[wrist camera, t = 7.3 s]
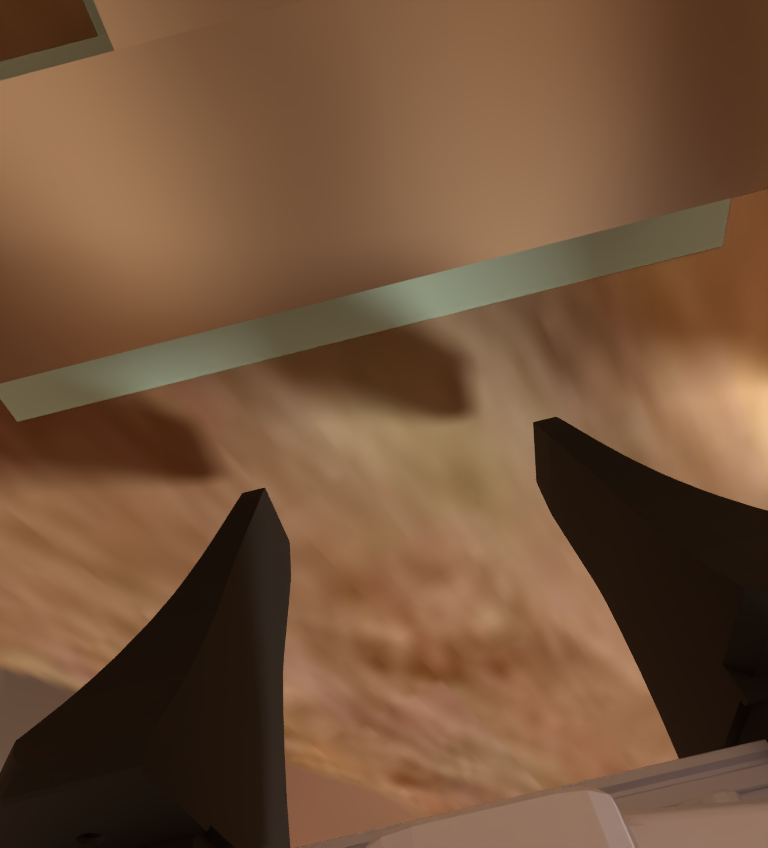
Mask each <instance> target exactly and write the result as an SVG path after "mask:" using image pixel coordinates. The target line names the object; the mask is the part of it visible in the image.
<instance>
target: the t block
mask: <svg viewBox="0 0 768 848" xmlns="http://www.w3.org/2000/svg"><path fill="white" fill-rule="evenodd" d="M94 3H95V5H96V8H97V10H98V12H99V15H100V17H101V20H102V22H103V25H104V27H105V29H106V32H107V34H108V37H109V39H110V41H111V44H112V46H113V49H114V51H111V52H107V53H103V54H100V55H96V56H92V57H88V58H84V59H81V60H77V61H73V62H69V63H65V64H62V65H58V66H54V67H50V68H46V69H43V70H39V71H35V72H31V73H27V74H24V75H20V76H16V77H12V78H8V79H5V80H1V81H0V384H1V383H5V382H9V381H13V380H16V379H20V378H24V377H28V376H32V375H36V374H40V373H44V372H48V371H52V370H56V369H60V368H64V367H68V366H72V365H76V364H80V363H83V362H87V361H91V360H95V359H99V358H103V357H107V356H111V355H115V354H119V353H123V352H127V351H131V350H135V349H139V348H143V347H146V346H150V345H154V344H158V343H162V342H166V341H170V340H174V339H178V338H182V337H186V336H190V335H194V334H198V333H202V332H206V331H209V330H213V329H217V328H221V327H225V326H229V325H233V324H237V323H241V322H245V321H249V320H253V319H257V318H261V317H265V316H269V315H272V314H276V313H280V312H284V311H288V310H292V309H296V308H300V307H304V306H308V305H312V304H316V303H320V302H324V301H328V300H332V299H336V298H339V297H343V296H347V295H351V294H355V293H359V292H363V291H367V290H371V289H375V288H379V287H383V286H387V285H391V284H395V283H399V282H402V281H406V280H410V279H414V278H418V277H422V276H426V275H430V274H434V273H438V272H442V271H446V270H450V269H454V268H458V267H462V266H465V265H469V264H473V263H477V262H481V261H485V260H489V259H493V258H497V257H501V256H505V255H509V254H513V253H517V252H521V251H525V250H529V249H532V248H536V247H540V246H544V245H548V244H552V243H556V242H560V241H564V240H568V239H572V238H576V237H580V236H584V235H588V234H592V233H595V232H599V231H603V230H607V229H611V228H615V227H619V226H623V225H627V224H631V223H635V222H639V221H643V220H647V219H651V218H655V217H658V216H662V215H666V214H670V213H674V212H678V211H682V210H686V209H690V208H694V207H698V206H702V205H706V204H710V203H714V202H718V201H721V200H725V199H729V198H733V197H737V196H741V195H745V194H749V193H753V192H757V191H761V190H765V189H768V0H94Z"/></svg>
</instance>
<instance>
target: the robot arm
mask: <svg viewBox="0 0 768 848" xmlns="http://www.w3.org/2000/svg"><path fill="white" fill-rule="evenodd" d="M533 426H534V444H535V463H536V481H537V484H538V486H539V488H540V491H541V493H542V495H543V497H544V499H545V502H546V504H547V506H548V508H549V510H550V512H551V514H552V516H553V517H554V519H555V520H556V522H557V524H558V525H559V527H560V528H561V530H562V532H563V533H564V535H565V536H566V538H567V539H568V541H569V543H570V544H571V546H572V547H573V549H574V550H575V552H576V553H577V555H578V557H579V558H580V560H581V561H582V563H583V564H584V566H585V568H586V569H587V571H588V572H589V574H590V575H591V577H592V578H593V580H594V582H595V583H596V585H597V587H598V588H599V590H600V592H601V593H602V595H603V597H604V599H605V601H606V603H607V605H608V607H609V609H610V611H611V613H612V615H613V617H614V619H615V620H616V622H617V624H618V626H619V628H620V630H621V632H622V634H623V637H624V639H625V641H626V643H627V645H628V647H629V649H630V651H631V653H632V655H633V657H634V659H635V661H636V664H637V666H638V668H639V670H640V672H641V674H642V676H643V679H644V681H645V683H646V685H647V687H648V689H649V692H650V694H651V696H652V698H653V700H654V703H655V705H656V707H657V709H658V711H659V714H660V716H661V718H662V720H663V723H664V725H665V727H666V730H667V732H668V734H669V737H670V739H671V741H672V744H673V746H674V748H675V751H676V753H677V755H678V758H679V759H677V760H673V761H669V762H664V763H660V764H656V765H651V766H647V767H643V768H638V769H634V770H630V771H625V772H621V773H617V774H612V775H608V776H604V777H599V778H595V779H591V780H586V781H582V782H578V783H574V784H569V785H565V786H561V787H556V788H552V789H548V790H543V791H539V792H535V793H530V794H526V795H522V796H517V797H513V798H509V799H504V800H500V801H496V802H491V803H487V804H483V805H478V806H474V807H470V808H465V809H461V810H457V811H452V812H448V813H444V814H439V815H435V816H431V817H426V818H422V819H418V820H413V821H409V822H405V823H400V824H396V825H392V826H388V827H383V828H379V829H375V830H370V831H366V832H362V833H357V834H353V835H349V836H344V837H340V838H336V839H332V840H327V841H323V842H319V843H314V844H310V845H306V846H301V847H297V848H768V511H767V510H763V509H760V508H756V507H752V506H749V505H746V504H743V503H740V502H736V501H733V500H730V499H727V498H724V497H721V496H718V495H715V494H712V493H709V492H706V491H704V490H701V489H698V488H696V487H693V486H691V485H688V484H686V483H683V482H680V481H678V480H675V479H673V478H671V477H668V476H666V475H664V474H661V473H659V472H657V471H655V470H653V469H651V468H649V467H647V466H645V465H642V464H640V463H638V462H636V461H634V460H632V459H630V458H628V457H626V456H624V455H623V454H621V453H619V452H617V451H615V450H613V449H611V448H610V447H608V446H606V445H604V444H602V443H601V442H599V441H597V440H595V439H594V438H592V437H590V436H589V435H587V434H585V433H583V432H582V431H580V430H578V429H577V428H575V427H573V426H572V425H570V424H568V423H567V422H565V421H563V420H561V419H560V418H558V417H553V418H549V419H545V420H541V421H537V422H533ZM290 582H291V563H290V543H289V540H288V537H287V535H286V533H285V531H284V529H283V526H282V524H281V522H280V520H279V518H278V515H277V513H276V511H275V509H274V507H273V504H272V502H271V500H270V498H269V496H268V493H267V491H266V489H265V488H261V489H257V490H253V491H249V492H245V493H242V495H241V496H240V498H239V499H238V501H237V502H236V504H235V505H234V507H233V509H232V510H231V512H230V513H229V515H228V517H227V518H226V520H225V521H224V523H223V524H222V526H221V528H220V529H219V531H218V532H217V534H216V535H215V537H214V539H213V540H212V542H211V543H210V545H209V546H208V548H207V549H206V551H205V552H204V554H203V555H202V557H201V558H200V559H199V561H198V562H197V563H196V565H195V566H194V568H193V569H192V570H191V572H190V573H189V574H188V576H187V577H186V579H185V580H184V581H183V583H182V584H181V585H180V587H179V588H178V589H177V590H176V592H175V593H174V594H173V595H172V597H171V598H170V599H169V600H168V601H167V603H166V604H165V605H164V606H163V607H162V608H161V610H160V611H159V612H158V613H157V614H156V615H155V617H154V618H153V619H152V620H151V621H150V622H149V623H148V624H147V625H146V626H145V627H144V628H143V629H142V631H141V632H140V633H139V634H138V635H137V636H136V637H135V638H134V639H133V640H132V641H131V642H130V643H129V644H128V645H127V646H126V647H125V648H124V649H123V650H122V651H121V652H120V653H119V654H118V655H117V656H116V657H115V658H114V659H113V660H112V661H111V662H110V663H109V664H108V665H106V666H105V667H104V668H103V669H102V670H101V671H100V672H99V673H98V674H97V675H96V676H95V677H93V678H92V679H91V680H90V681H89V682H88V683H87V684H85V685H84V686H83V687H82V688H81V689H80V690H79V691H78V692H76V693H75V694H74V695H73V696H72V697H70V698H69V699H68V700H67V701H66V702H65V703H63V704H62V705H61V706H60V707H58V708H57V709H56V710H54V711H53V712H52V713H51V714H49V715H48V716H47V717H46V718H44V719H43V720H42V721H41V722H40V723H38V724H37V725H36V726H34V727H33V728H32V729H31V730H29V731H28V732H27V733H26V734H24V735H23V736H22V737H21V738H19V739H18V740H16V742H15V743H14V745H13V747H12V749H11V751H10V754H9V756H8V758H7V760H6V762H5V764H4V766H3V768H2V770H1V772H0V848H290V839H289V826H288V825H289V824H288V811H287V794H286V774H285V754H284V721H283V661H284V648H285V637H286V627H287V616H288V605H289V594H290Z"/></svg>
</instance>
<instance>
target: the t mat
mask: <svg viewBox="0 0 768 848" xmlns="http://www.w3.org/2000/svg"><path fill="white" fill-rule="evenodd" d="M83 2H84V4H85V6H86V9H87V11H88V14H89V16H90V18H91V21H92V23H93V25H94V28H95V30H96V33H97V35H98V36H97V37H93V38H89V39H85V40H81V41H78V42H74V43H70V44H66V45H62V46H58V47H54V48H51V49H47V50H43V51H39V52H35V53H31V54H27V55H24V56H20V57H16V58H12V59H8V60H4V61H0V81H1V80H5V79H8V78H12V77H16V76H20V75H24V74H27V73H31V72H35V71H39V70H43V69H46V68H50V67H54V66H58V65H62V64H65V63H69V62H73V61H77V60H81V59H84V58H88V57H92V56H96V55H100V54H103V53H107V52H111V51H114V49H113V46H112V44H111V41H110V39H109V37H108V34H107V32H106V29H105V27H104V25H103V22H102V20H101V17H100V15H99V12H98V10H97V8H96V5H95V3H94V0H83ZM730 201H731V198H729V199H725V200H721V201H718V202H714V203H710V204H706V205H702V206H698V207H694V208H690V209H686V210H682V211H678V212H674V213H670V214H666V215H662V216H658V217H655V218H651V219H647V220H643V221H639V222H635V223H631V224H627V225H623V226H619V227H615V228H611V229H607V230H603V231H599V232H595V233H592V234H588V235H584V236H580V237H576V238H572V239H568V240H564V241H560V242H556V243H552V244H548V245H544V246H540V247H536V248H532V249H529V250H525V251H521V252H517V253H513V254H509V255H505V256H501V257H497V258H493V259H489V260H485V261H481V262H477V263H473V264H469V265H465V266H462V267H458V268H454V269H450V270H446V271H442V272H438V273H434V274H430V275H426V276H422V277H418V278H414V279H410V280H406V281H402V282H399V283H395V284H391V285H387V286H383V287H379V288H375V289H371V290H367V291H363V292H359V293H355V294H351V295H347V296H343V297H339V298H336V299H332V300H328V301H324V302H320V303H316V304H312V305H308V306H304V307H300V308H296V309H292V310H288V311H284V312H280V313H276V314H272V315H269V316H265V317H261V318H257V319H253V320H249V321H245V322H241V323H237V324H233V325H229V326H225V327H221V328H217V329H213V330H209V331H206V332H202V333H198V334H194V335H190V336H186V337H182V338H178V339H174V340H170V341H166V342H162V343H158V344H154V345H150V346H146V347H143V348H139V349H135V350H131V351H127V352H123V353H119V354H115V355H111V356H107V357H103V358H99V359H95V360H91V361H87V362H83V363H80V364H76V365H72V366H68V367H64V368H60V369H56V370H52V371H48V372H44V373H40V374H36V375H32V376H28V377H24V378H20V379H16V380H13V381H9V382H5V383H1V384H0V399H1V401H2V402H3V403H4V405H5V406H6V407H7V409H8V410H9V411H10V413H11V414H12V415H13V417H14V418H15V419H16V421H17V422H19V421H23V420H27V419H31V418H35V417H39V416H43V415H47V414H51V413H55V412H59V411H63V410H67V409H71V408H75V407H79V406H83V405H87V404H91V403H95V402H99V401H103V400H107V399H111V398H115V397H119V396H123V395H127V394H131V393H135V392H139V391H143V390H147V389H151V388H155V387H159V386H163V385H167V384H171V383H175V382H179V381H183V380H187V379H191V378H195V377H199V376H203V375H208V374H212V373H216V372H220V371H224V370H228V369H232V368H236V367H240V366H244V365H248V364H252V363H256V362H260V361H264V360H268V359H272V358H276V357H280V356H284V355H288V354H292V353H296V352H300V351H304V350H308V349H312V348H316V347H320V346H324V345H328V344H332V343H336V342H340V341H344V340H348V339H352V338H356V337H360V336H364V335H368V334H372V333H376V332H380V331H384V330H388V329H392V328H396V327H400V326H404V325H408V324H412V323H416V322H420V321H424V320H428V319H432V318H436V317H440V316H444V315H448V314H452V313H456V312H460V311H464V310H468V309H472V308H476V307H480V306H485V305H489V304H493V303H497V302H501V301H505V300H509V299H513V298H517V297H521V296H525V295H529V294H533V293H537V292H541V291H545V290H549V289H553V288H557V287H561V286H565V285H569V284H573V283H577V282H581V281H585V280H589V279H593V278H597V277H601V276H605V275H609V274H613V273H617V272H621V271H625V270H629V269H633V268H637V267H641V266H645V265H649V264H653V263H657V262H661V261H665V260H669V259H673V258H677V257H681V256H685V255H689V254H693V253H697V252H701V251H705V250H709V249H713V248H717V247H721V246H723V244H724V238H725V231H726V225H727V219H728V213H729V207H730Z"/></svg>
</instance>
